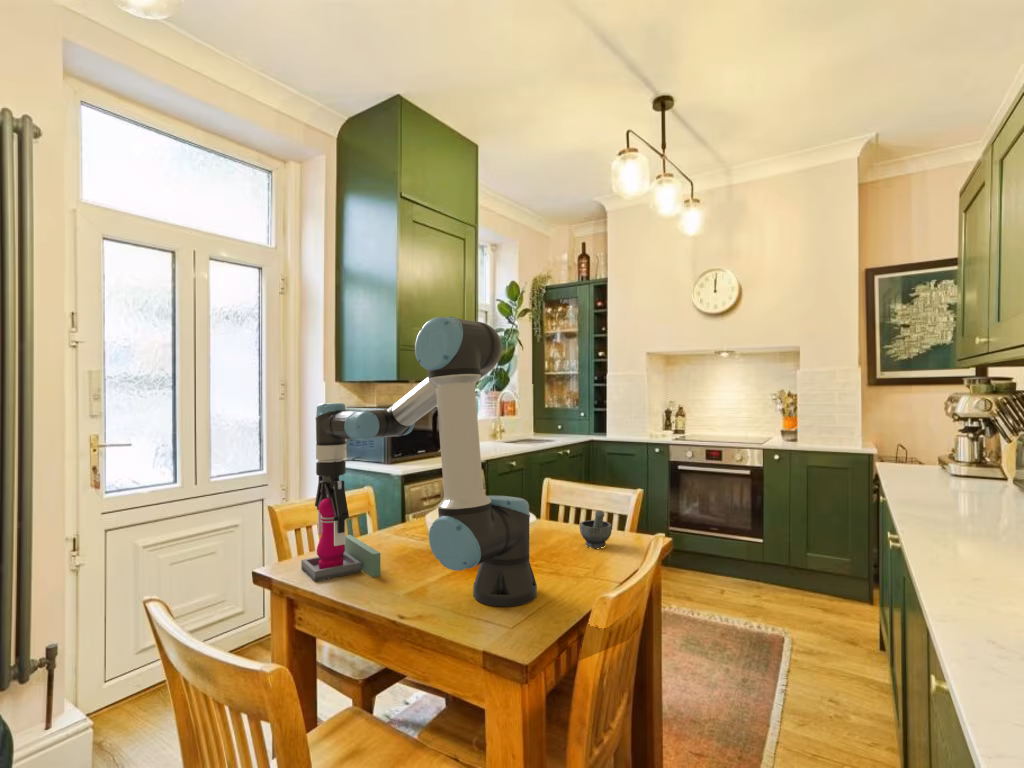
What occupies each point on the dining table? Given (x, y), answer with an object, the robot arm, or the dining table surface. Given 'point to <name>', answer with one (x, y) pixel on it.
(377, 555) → the board
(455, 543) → the robot arm
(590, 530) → the mortar and pestle
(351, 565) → the tray
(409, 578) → the dining table surface
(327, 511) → the pepper mill
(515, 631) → the dining table surface
